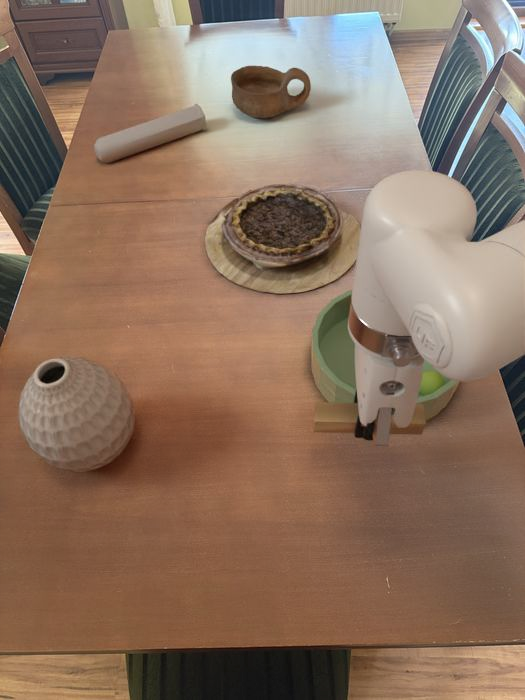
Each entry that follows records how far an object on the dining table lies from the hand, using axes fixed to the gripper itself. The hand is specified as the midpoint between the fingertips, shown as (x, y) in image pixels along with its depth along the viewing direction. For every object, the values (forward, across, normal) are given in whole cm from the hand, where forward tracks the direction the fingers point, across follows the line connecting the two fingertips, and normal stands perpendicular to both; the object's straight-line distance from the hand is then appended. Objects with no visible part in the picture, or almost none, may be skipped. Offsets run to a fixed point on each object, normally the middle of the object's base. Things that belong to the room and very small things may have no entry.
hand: (367, 422), depth 58 cm
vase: (+10, +1, +34) cm, 36 cm away
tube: (+10, +74, +40) cm, 85 cm away
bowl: (+10, +88, +15) cm, 90 cm away
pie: (+10, +42, +11) cm, 45 cm away
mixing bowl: (+9, +15, -4) cm, 18 cm away
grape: (+7, +10, -10) cm, 16 cm away
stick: (0, 0, 0) cm, 0 cm away
